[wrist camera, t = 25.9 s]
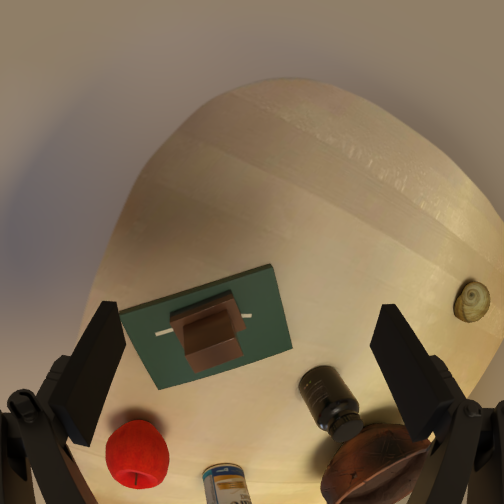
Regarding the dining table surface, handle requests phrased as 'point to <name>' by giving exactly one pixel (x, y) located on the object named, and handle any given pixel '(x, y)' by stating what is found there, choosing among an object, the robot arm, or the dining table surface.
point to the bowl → (375, 467)
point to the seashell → (472, 302)
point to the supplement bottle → (331, 403)
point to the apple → (137, 455)
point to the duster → (209, 331)
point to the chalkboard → (158, 312)
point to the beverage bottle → (225, 485)
